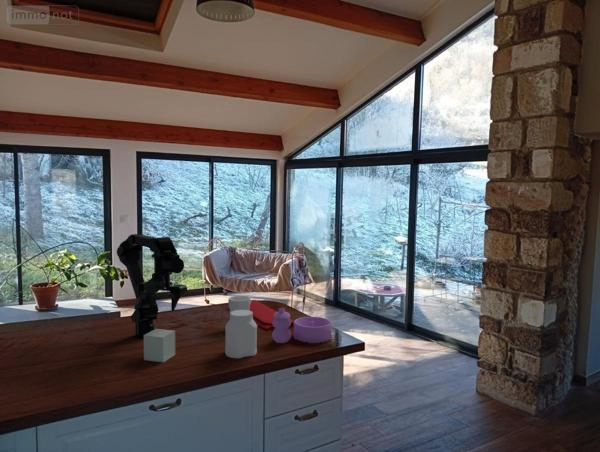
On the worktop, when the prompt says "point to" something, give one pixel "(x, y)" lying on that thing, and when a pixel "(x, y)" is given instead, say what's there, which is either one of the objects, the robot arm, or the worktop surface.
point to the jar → (241, 334)
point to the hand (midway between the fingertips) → (162, 309)
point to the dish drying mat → (263, 315)
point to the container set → (301, 328)
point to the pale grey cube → (159, 345)
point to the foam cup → (239, 303)
